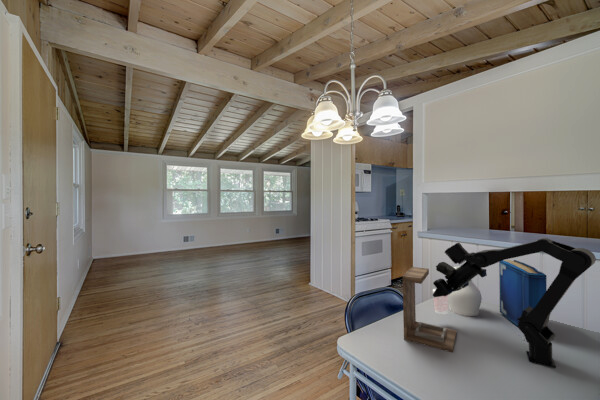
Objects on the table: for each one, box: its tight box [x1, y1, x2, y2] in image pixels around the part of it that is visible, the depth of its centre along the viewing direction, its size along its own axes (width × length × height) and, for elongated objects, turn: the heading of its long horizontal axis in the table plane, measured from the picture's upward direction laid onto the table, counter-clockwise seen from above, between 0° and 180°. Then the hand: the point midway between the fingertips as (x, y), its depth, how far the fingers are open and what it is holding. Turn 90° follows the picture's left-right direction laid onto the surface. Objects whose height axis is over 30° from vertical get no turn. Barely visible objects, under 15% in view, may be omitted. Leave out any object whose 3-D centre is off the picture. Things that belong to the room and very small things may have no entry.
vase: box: [448, 265, 483, 317], centre depth 126 cm, size 14×14×20 cm
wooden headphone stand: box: [402, 266, 457, 353], centre depth 103 cm, size 16×16×24 cm
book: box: [498, 259, 547, 327], centre depth 111 cm, size 22×7×25 cm, turn 168°
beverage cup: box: [432, 288, 449, 315], centre depth 113 cm, size 6×6×14 cm
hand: (437, 294), depth 114 cm, fingers closed on beverage cup, 6 cm apart
